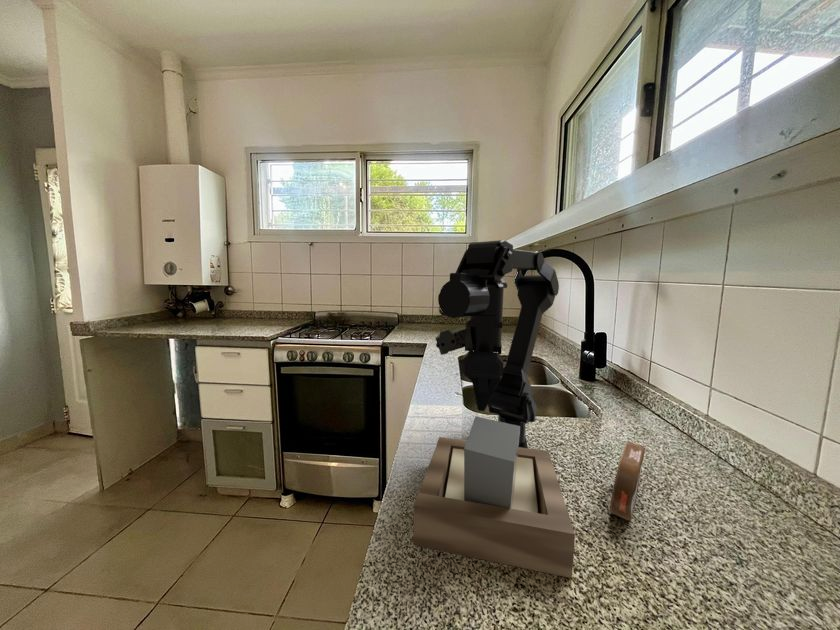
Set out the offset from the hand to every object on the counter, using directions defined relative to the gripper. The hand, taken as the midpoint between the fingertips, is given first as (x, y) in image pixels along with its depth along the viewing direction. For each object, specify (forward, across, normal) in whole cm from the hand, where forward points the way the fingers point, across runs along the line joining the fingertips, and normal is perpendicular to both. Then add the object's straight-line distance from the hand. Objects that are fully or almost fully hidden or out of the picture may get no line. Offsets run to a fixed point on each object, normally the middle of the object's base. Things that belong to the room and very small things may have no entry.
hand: (482, 400), depth 57 cm
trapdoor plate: (+11, +10, +2) cm, 15 cm away
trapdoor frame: (+13, +10, +2) cm, 17 cm away
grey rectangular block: (+10, +12, +2) cm, 16 cm away
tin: (+13, +3, +23) cm, 27 cm away
